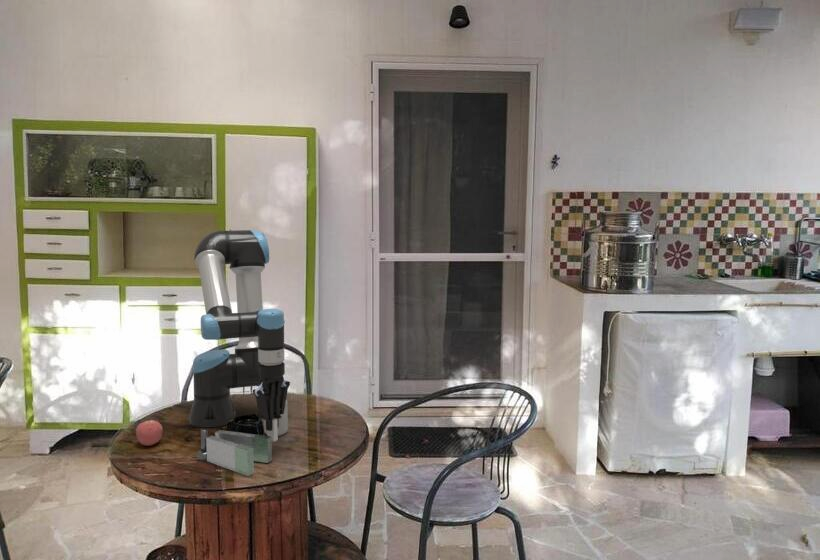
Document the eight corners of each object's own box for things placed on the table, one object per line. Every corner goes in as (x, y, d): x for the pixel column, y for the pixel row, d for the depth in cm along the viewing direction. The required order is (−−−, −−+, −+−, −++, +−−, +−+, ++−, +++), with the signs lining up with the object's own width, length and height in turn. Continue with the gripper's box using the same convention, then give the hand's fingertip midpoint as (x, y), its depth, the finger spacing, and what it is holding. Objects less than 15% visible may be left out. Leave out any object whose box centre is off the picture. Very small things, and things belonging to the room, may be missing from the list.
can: (262, 430, 200) (261, 394, 199) (285, 427, 203) (284, 392, 201) (266, 438, 193) (265, 401, 192) (290, 435, 196) (289, 398, 195)
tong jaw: (215, 455, 179) (214, 432, 178) (219, 452, 181) (218, 429, 180) (267, 462, 174) (267, 439, 173) (271, 459, 176) (271, 436, 176)
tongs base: (194, 458, 177) (193, 430, 176) (206, 454, 180) (205, 426, 179) (244, 477, 165) (244, 447, 164) (256, 472, 169) (255, 442, 168)
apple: (151, 438, 192) (150, 413, 191) (168, 442, 189) (167, 417, 188) (130, 446, 185) (129, 420, 185) (148, 451, 182) (147, 424, 181)
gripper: (263, 368, 173) (265, 449, 175) (296, 359, 184) (297, 436, 186) (245, 364, 177) (246, 443, 180) (278, 356, 188) (279, 430, 190)
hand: (272, 439), depth 183 cm, fingers closed
